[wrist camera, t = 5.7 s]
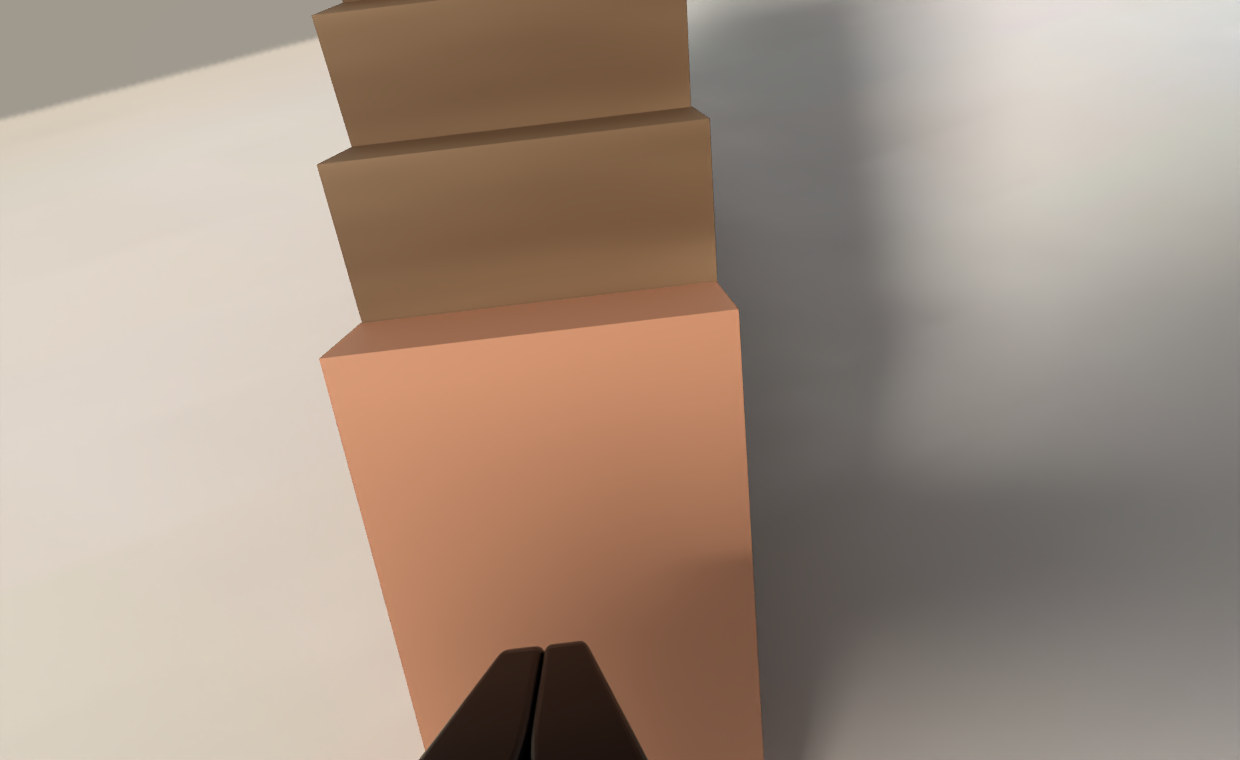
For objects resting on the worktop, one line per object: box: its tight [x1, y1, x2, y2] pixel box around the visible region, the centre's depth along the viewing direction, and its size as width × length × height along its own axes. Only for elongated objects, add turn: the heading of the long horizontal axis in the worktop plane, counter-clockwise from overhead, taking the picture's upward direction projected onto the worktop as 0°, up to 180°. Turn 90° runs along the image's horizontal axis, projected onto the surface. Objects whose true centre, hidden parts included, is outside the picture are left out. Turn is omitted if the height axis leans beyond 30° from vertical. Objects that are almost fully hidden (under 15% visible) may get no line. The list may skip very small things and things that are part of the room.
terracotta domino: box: [319, 281, 764, 760], centre depth 11 cm, size 2×5×9 cm
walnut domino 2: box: [317, 107, 717, 323], centre depth 12 cm, size 2×5×9 cm
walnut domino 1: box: [312, 0, 691, 147], centre depth 13 cm, size 2×5×9 cm
